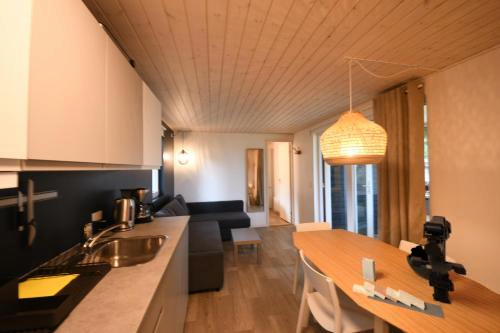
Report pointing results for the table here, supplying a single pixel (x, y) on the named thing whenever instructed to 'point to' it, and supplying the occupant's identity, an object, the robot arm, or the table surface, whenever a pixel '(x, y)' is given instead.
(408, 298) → the domino
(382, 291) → the domino
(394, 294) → the domino
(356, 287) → the domino
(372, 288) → the domino
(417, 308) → the domino mat
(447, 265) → the robot arm
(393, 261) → the table surface
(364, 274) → the skincare box
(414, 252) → the bowl of black rocks
